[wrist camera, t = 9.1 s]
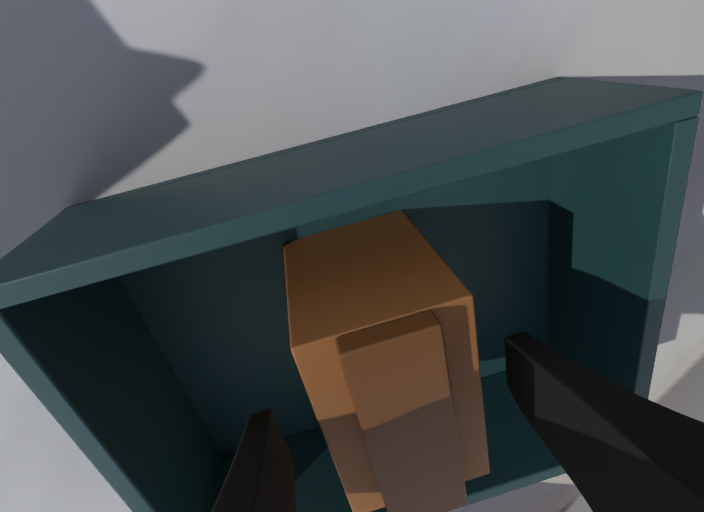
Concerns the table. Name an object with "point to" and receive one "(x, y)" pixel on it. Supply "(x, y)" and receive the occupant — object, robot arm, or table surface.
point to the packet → (388, 363)
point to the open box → (332, 212)
